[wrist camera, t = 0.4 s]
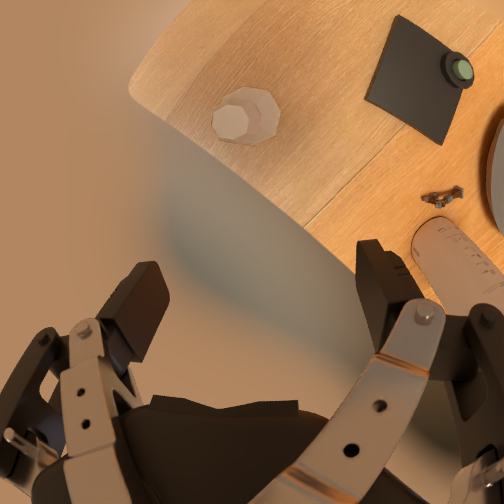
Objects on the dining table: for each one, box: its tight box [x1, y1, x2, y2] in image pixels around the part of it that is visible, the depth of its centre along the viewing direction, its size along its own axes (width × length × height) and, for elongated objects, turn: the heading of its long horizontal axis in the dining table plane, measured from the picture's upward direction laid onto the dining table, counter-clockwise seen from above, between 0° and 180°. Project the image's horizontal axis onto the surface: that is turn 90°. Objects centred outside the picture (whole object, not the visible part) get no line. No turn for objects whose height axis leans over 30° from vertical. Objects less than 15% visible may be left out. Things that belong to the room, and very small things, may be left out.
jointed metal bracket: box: [422, 186, 463, 209], centre depth 35 cm, size 2×8×4 cm, turn 107°
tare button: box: [452, 60, 473, 79], centre depth 23 cm, size 3×3×2 cm
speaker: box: [411, 217, 504, 316], centre depth 30 cm, size 11×10×26 cm
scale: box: [364, 15, 474, 146], centre depth 27 cm, size 16×14×3 cm
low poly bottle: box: [211, 86, 281, 146], centre depth 25 cm, size 6×6×22 cm
